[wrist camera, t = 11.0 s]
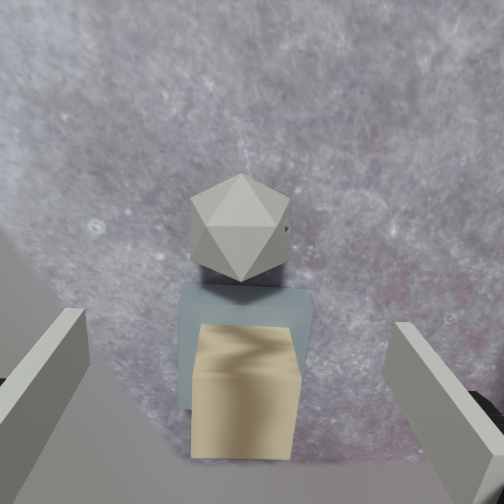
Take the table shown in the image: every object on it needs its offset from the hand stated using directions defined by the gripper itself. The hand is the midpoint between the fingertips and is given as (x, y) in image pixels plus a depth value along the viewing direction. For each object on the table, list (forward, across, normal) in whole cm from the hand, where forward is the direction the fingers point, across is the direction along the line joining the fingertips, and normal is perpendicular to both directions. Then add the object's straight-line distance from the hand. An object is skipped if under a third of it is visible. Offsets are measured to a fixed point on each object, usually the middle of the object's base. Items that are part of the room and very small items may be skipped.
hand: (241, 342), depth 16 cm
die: (+20, 0, 0) cm, 20 cm away
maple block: (+15, -1, +13) cm, 20 cm away
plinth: (+19, -1, +13) cm, 23 cm away
